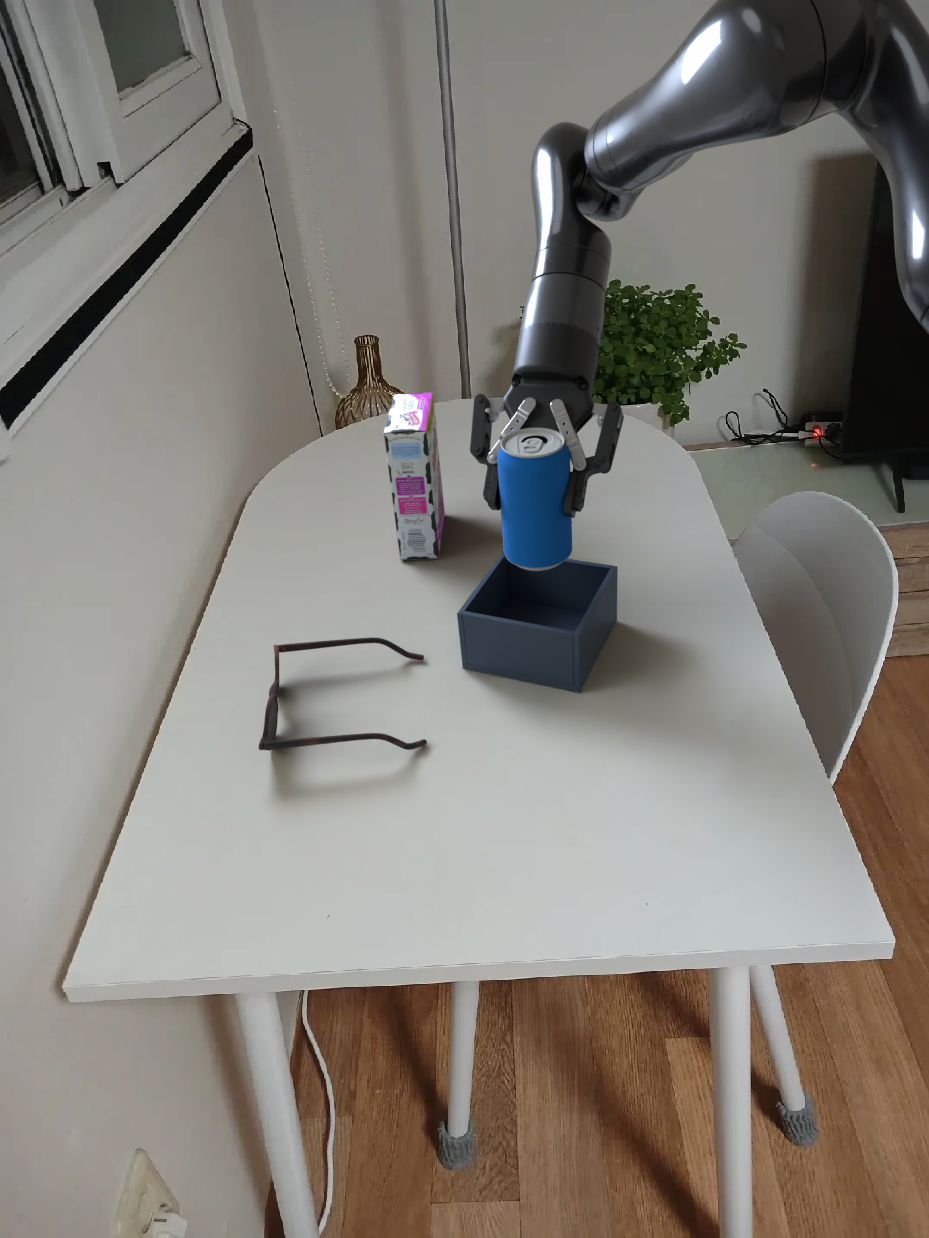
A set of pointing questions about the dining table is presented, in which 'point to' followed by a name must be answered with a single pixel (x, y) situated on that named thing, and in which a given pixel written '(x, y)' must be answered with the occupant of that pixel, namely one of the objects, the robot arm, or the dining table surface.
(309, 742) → the eyeglasses
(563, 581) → the bin
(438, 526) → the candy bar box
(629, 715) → the dining table surface
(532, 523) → the beverage can
